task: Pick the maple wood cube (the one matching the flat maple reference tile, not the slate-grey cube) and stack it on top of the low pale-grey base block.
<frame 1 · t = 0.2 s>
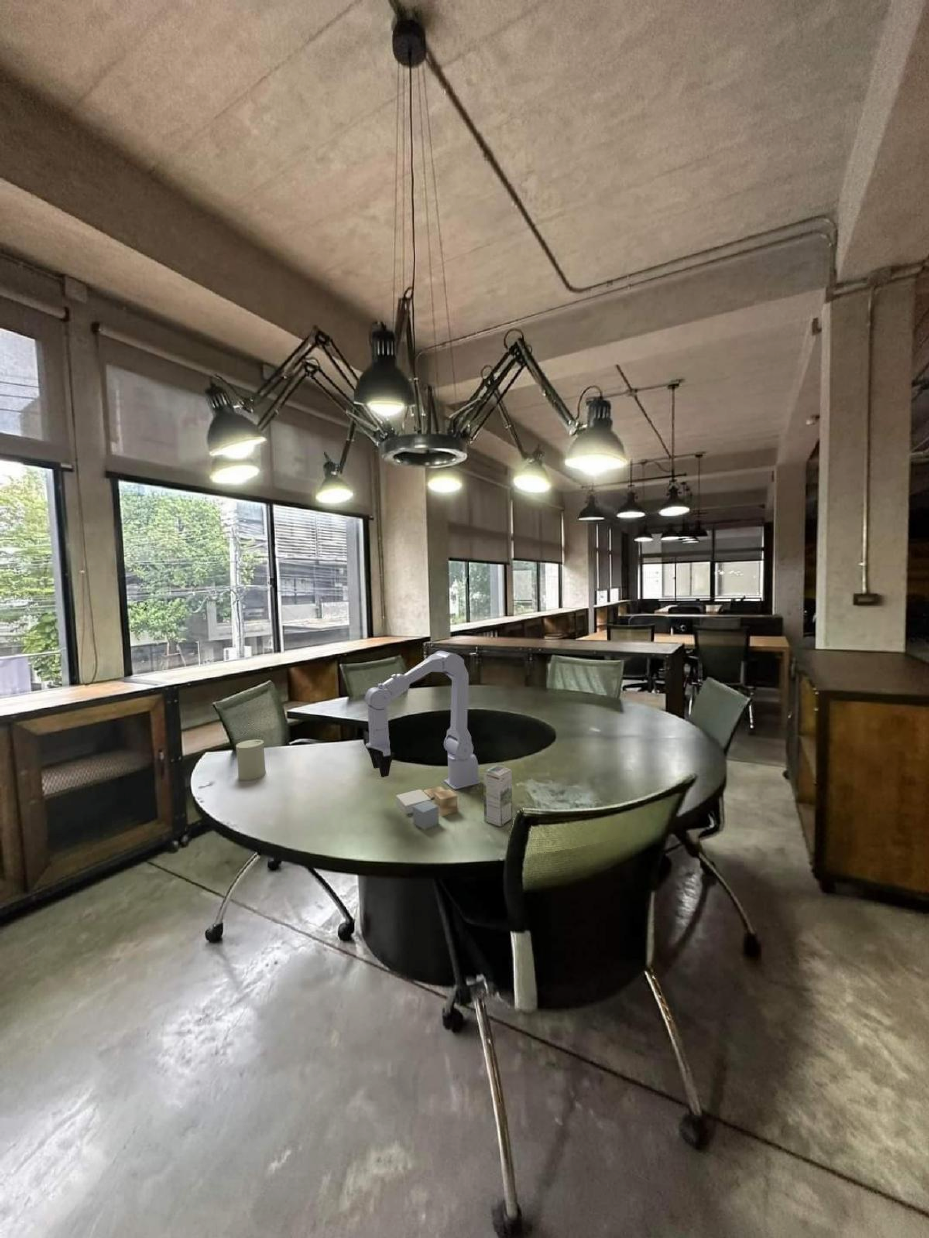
hand: (381, 771, 148), 10 cm above the table, fingers open, 7 cm apart
reference tile: (435, 793, 155), on the table
maple cube: (446, 810, 144), on the table
can: (252, 775, 176), on the table
slate cube: (426, 823, 136), on the table
syrup box: (498, 821, 137), on the table
base block: (413, 806, 148), on the table
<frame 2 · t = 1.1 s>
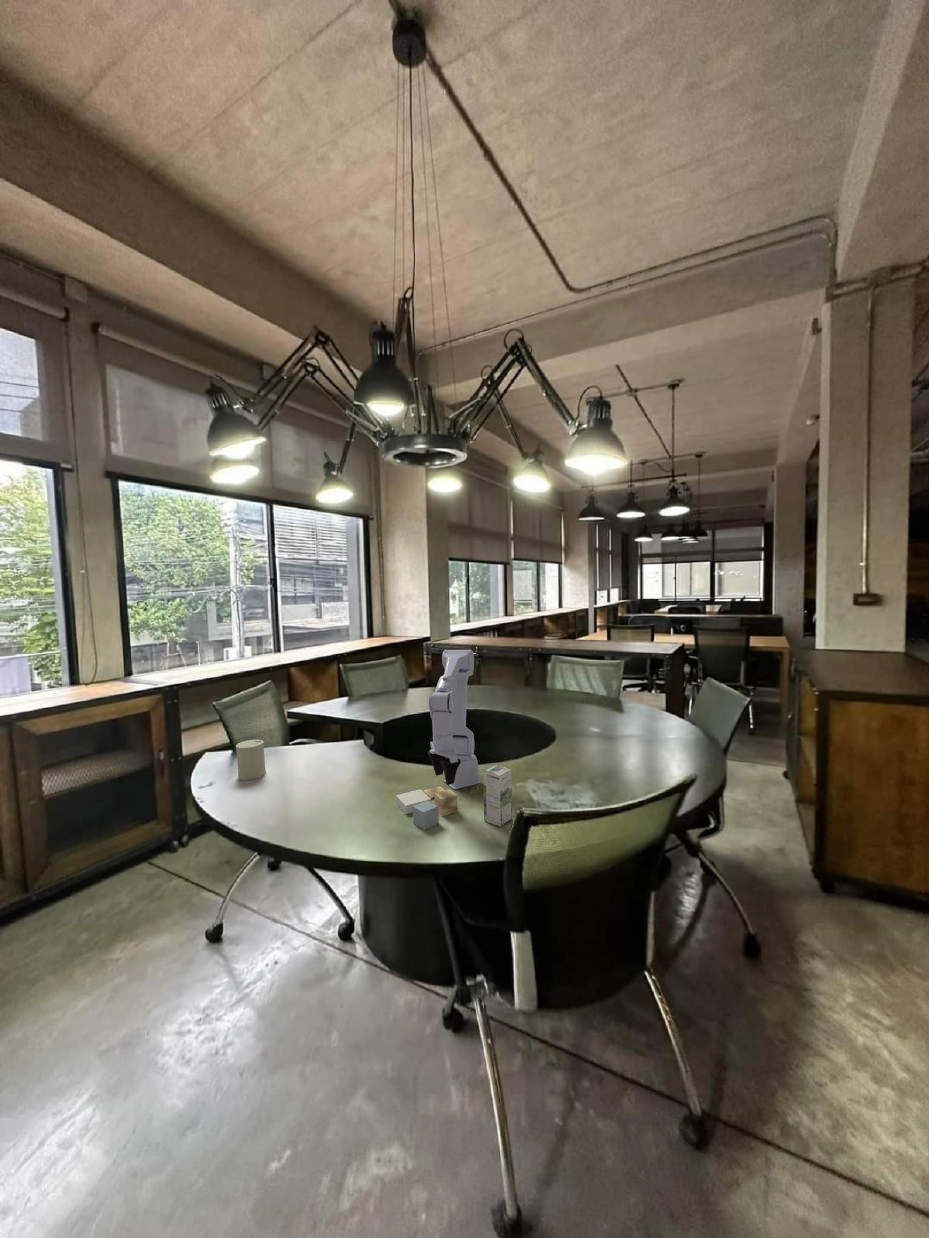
hand: (444, 779, 143), 9 cm above the table, fingers open, 7 cm apart
nothing on the table moved.
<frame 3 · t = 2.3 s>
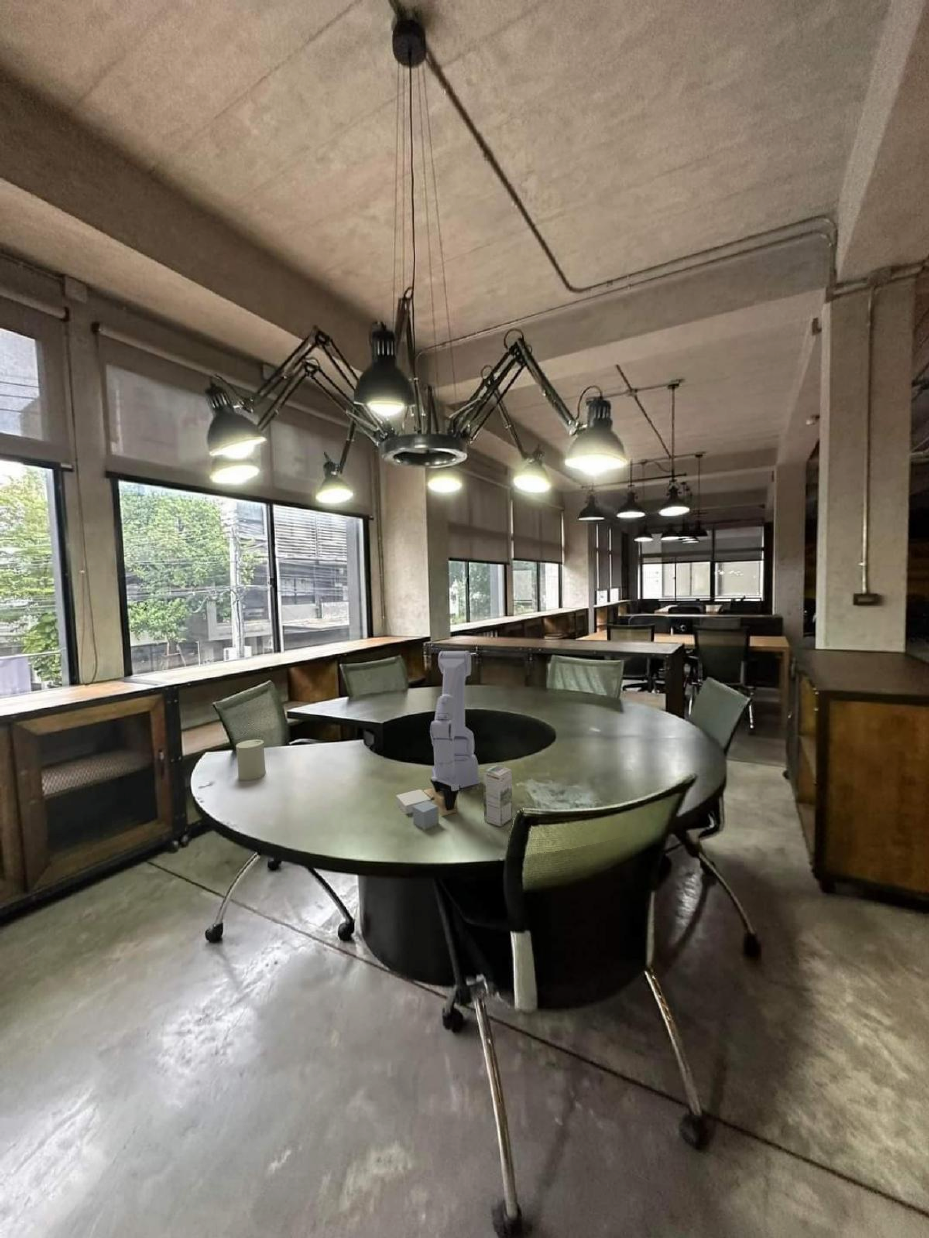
hand: (445, 805, 143), 1 cm above the table, fingers closed on maple cube, 5 cm apart
maple cube: (446, 810, 144), on the table, touching gripper
everything else where it was.
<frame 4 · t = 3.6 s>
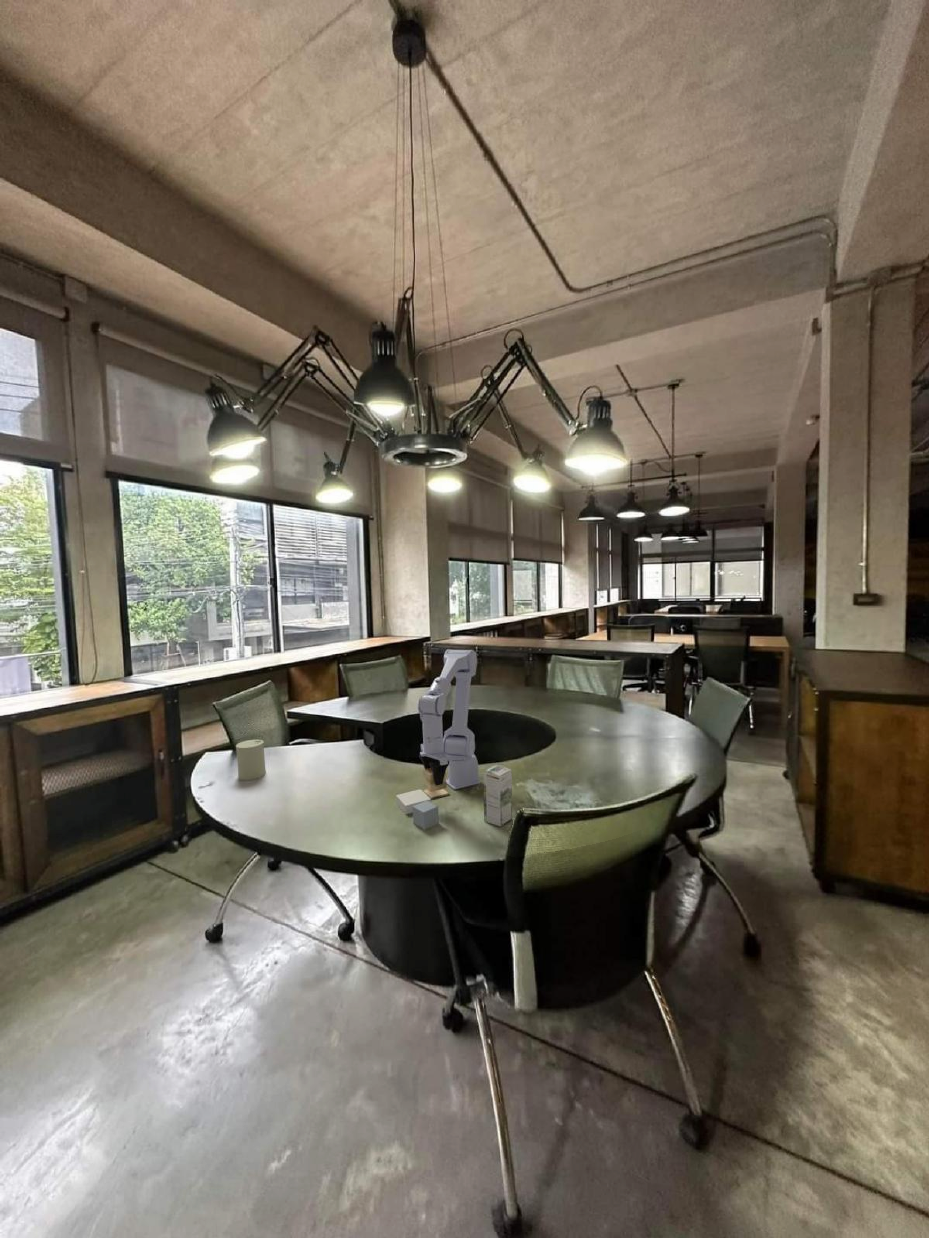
hand: (434, 781, 144), 8 cm above the table, fingers closed on maple cube, 5 cm apart
maple cube: (435, 786, 144), point 7 cm above the table, touching gripper
everything else where it was.
when the fingers open (6 cm above the table, at t = 5.0 s): maple cube drops 1 cm, point 3 cm above the table.
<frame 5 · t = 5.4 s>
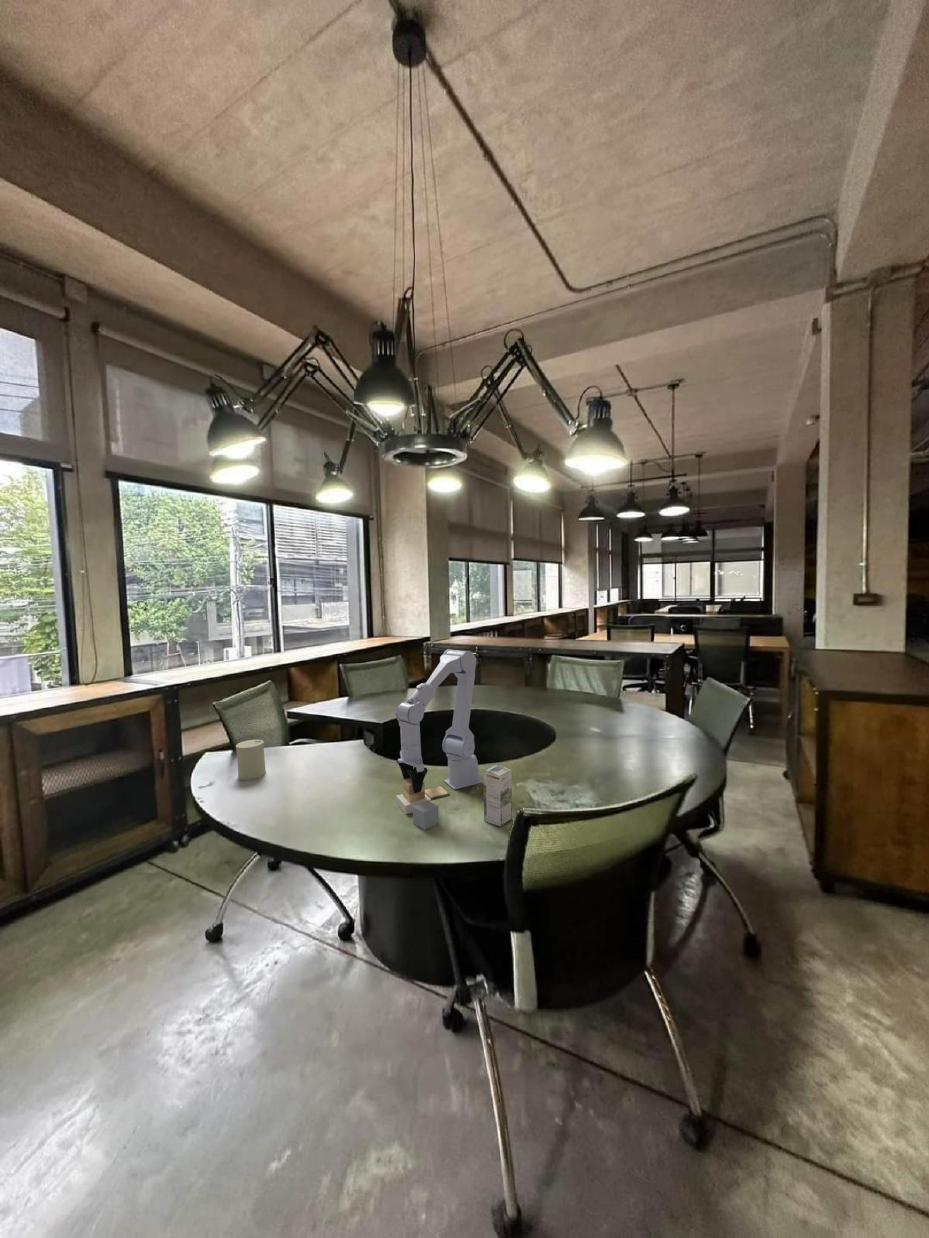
hand: (412, 787, 147), 6 cm above the table, fingers open, 7 cm apart
maple cube: (413, 796, 147), point 3 cm above the table
everything else where it was.
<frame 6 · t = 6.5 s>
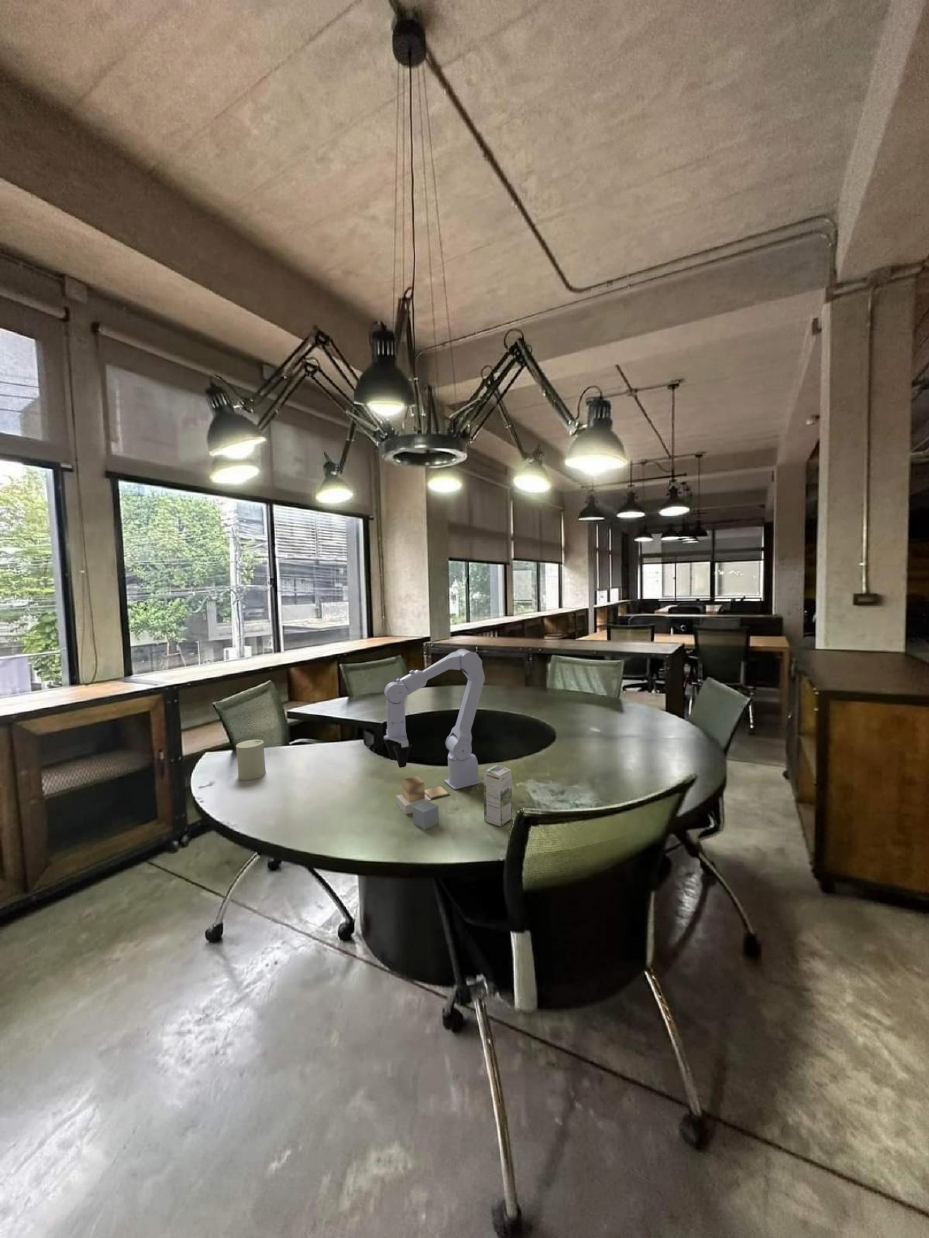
hand: (398, 763, 155), 10 cm above the table, fingers open, 7 cm apart
nothing on the table moved.
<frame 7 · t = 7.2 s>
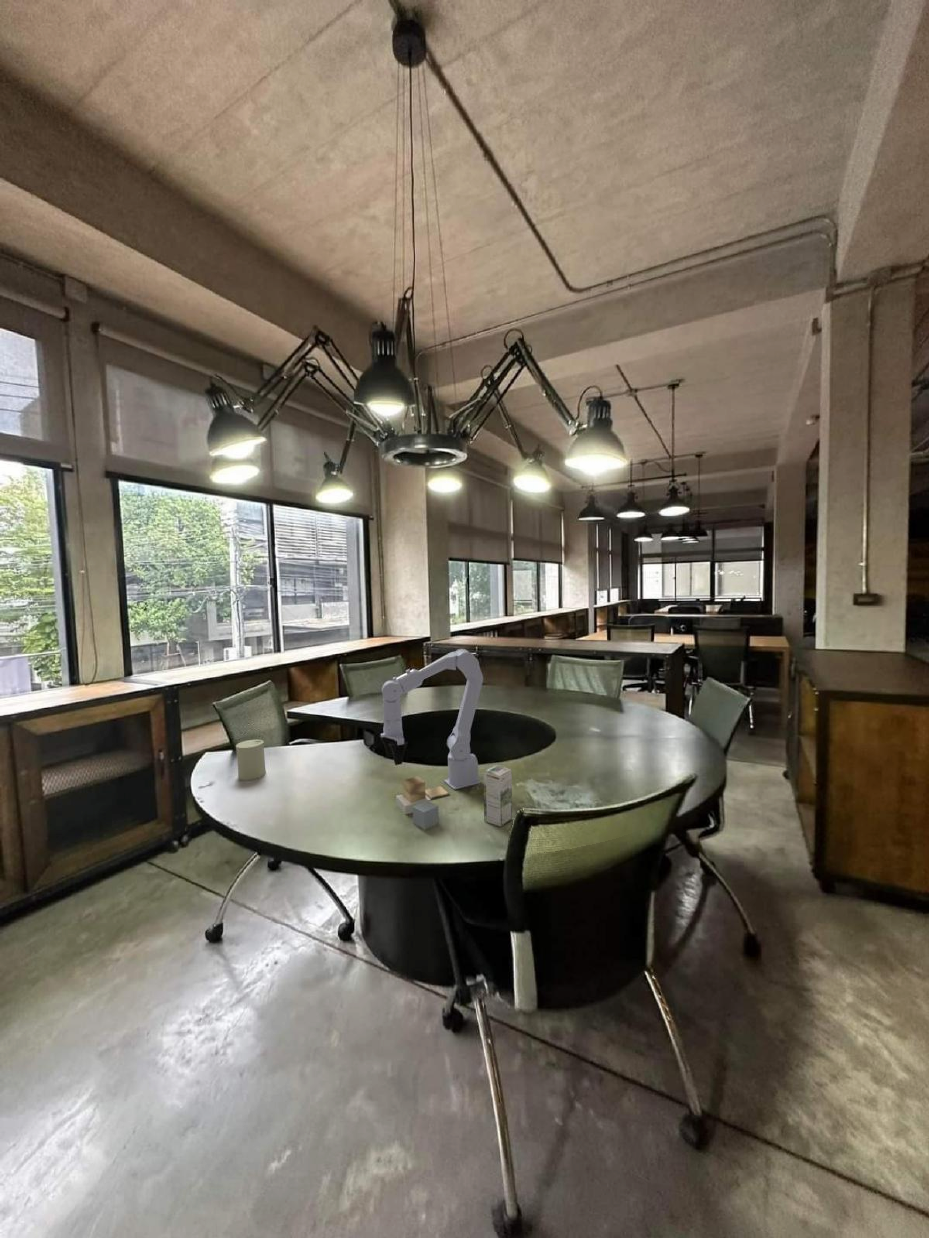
hand: (394, 760, 158), 10 cm above the table, fingers open, 7 cm apart
nothing on the table moved.
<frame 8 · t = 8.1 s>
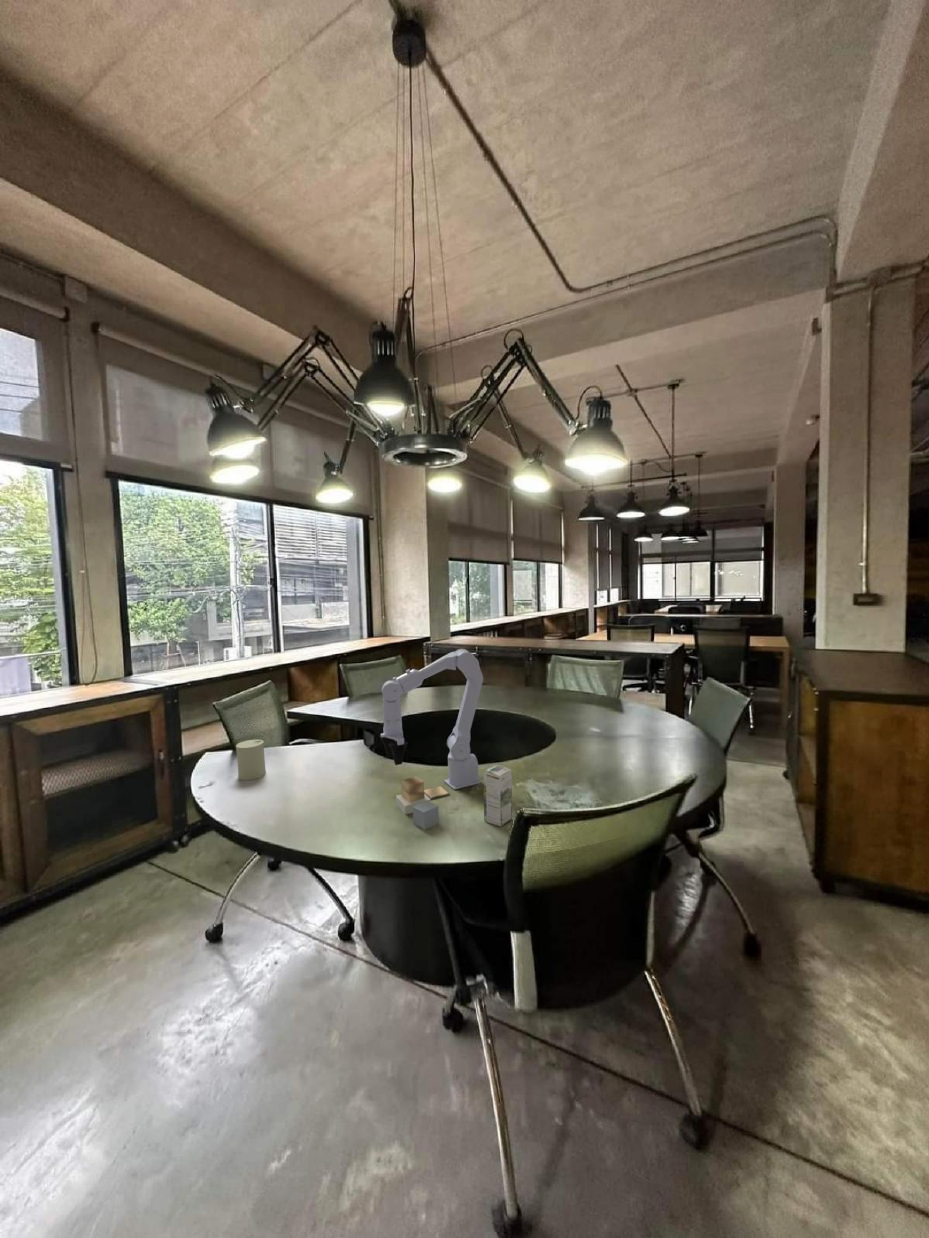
hand: (394, 760, 158), 10 cm above the table, fingers open, 7 cm apart
maple cube: (413, 797, 147), point 2 cm above the table, touching base block
base block: (413, 807, 147), on the table, touching maple cube
everything else where it was.
at the end: maple cube 0.3 cm off-centre on the base block, point 3.0 cm above the base block's base; maple cube tilted 0°; the gripper is holding nothing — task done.
